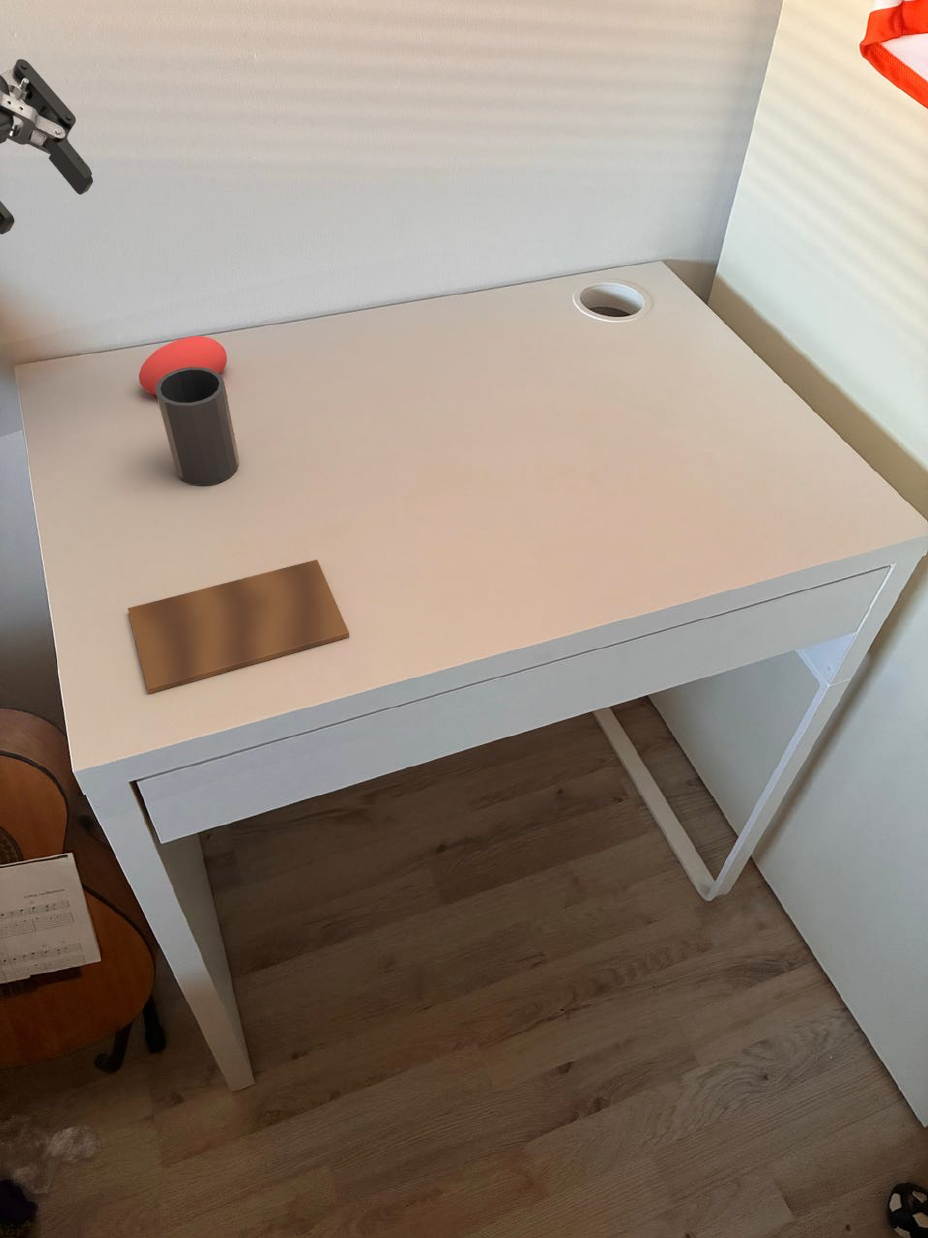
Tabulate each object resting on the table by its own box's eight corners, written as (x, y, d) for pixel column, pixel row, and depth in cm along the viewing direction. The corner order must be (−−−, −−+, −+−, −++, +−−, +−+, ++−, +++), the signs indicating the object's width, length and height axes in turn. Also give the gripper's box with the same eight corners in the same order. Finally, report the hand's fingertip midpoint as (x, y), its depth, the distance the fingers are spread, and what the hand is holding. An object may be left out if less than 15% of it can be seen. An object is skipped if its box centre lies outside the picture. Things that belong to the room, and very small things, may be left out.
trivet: (148, 694, 73) (147, 689, 72) (129, 612, 78) (127, 607, 78) (349, 637, 77) (349, 632, 76) (317, 563, 82) (317, 558, 82)
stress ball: (235, 404, 100) (240, 342, 98) (149, 398, 94) (152, 333, 92) (217, 395, 104) (221, 336, 102) (133, 390, 98) (135, 326, 96)
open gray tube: (182, 491, 88) (162, 411, 82) (170, 454, 92) (150, 374, 85) (245, 477, 90) (230, 397, 83) (231, 441, 93) (215, 361, 87)
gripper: (-181, 14, 66) (-7, 218, 71) (-19, -34, 75) (127, 151, 80) (-194, 81, 72) (-31, 265, 77) (-41, 29, 80) (96, 198, 85)
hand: (49, 207), depth 78 cm, fingers open, 8 cm apart
